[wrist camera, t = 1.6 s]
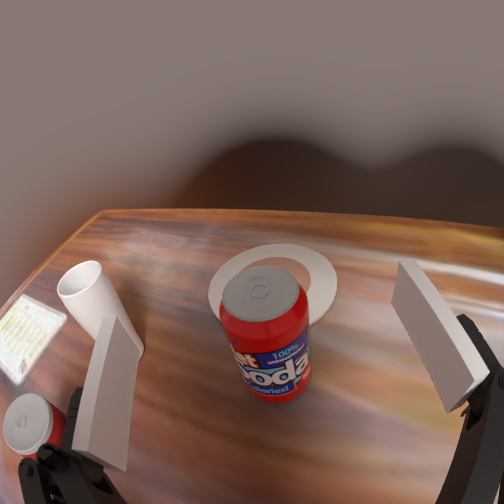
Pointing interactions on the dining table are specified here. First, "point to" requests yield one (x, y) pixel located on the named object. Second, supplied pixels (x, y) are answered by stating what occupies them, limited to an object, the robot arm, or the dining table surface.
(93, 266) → the drinking glass
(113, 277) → the dining table surface
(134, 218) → the dining table surface
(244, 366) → the soda can
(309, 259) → the cream plate
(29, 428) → the canned food
